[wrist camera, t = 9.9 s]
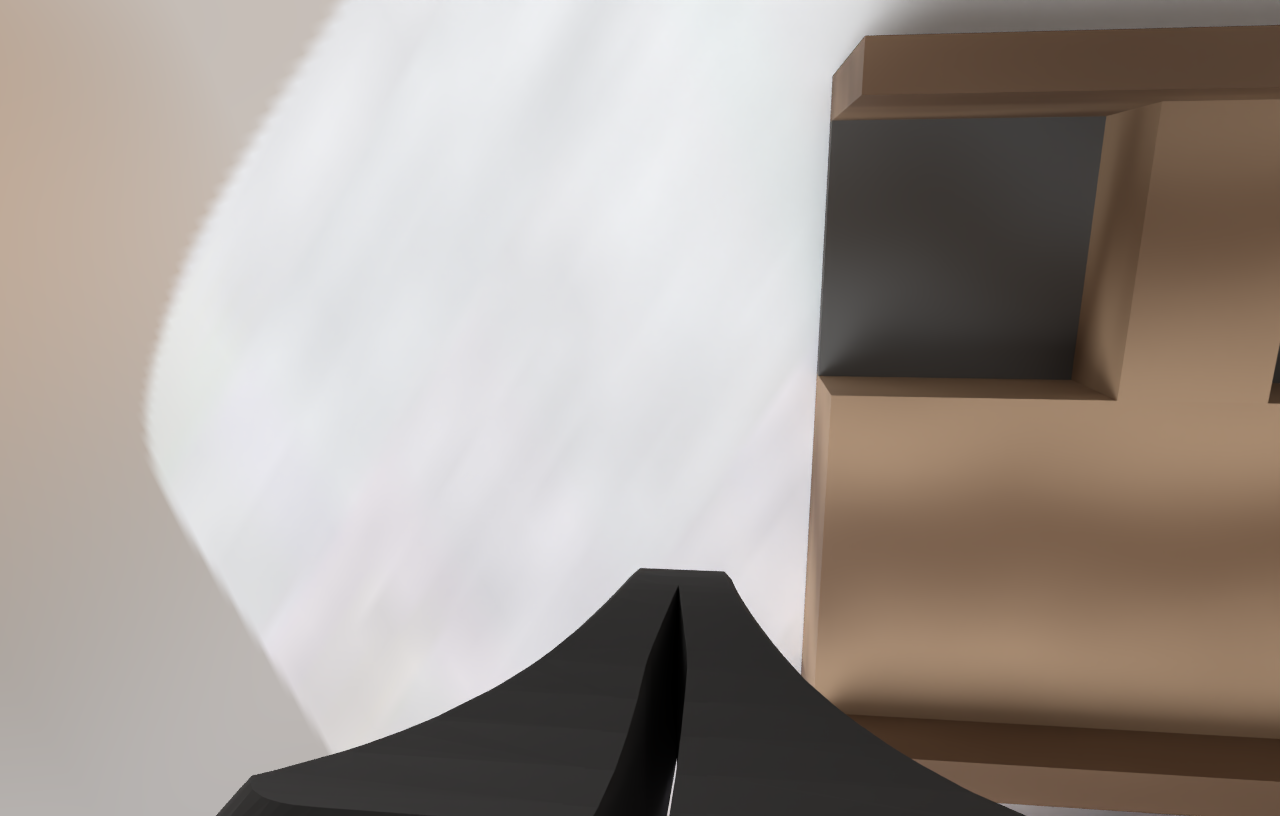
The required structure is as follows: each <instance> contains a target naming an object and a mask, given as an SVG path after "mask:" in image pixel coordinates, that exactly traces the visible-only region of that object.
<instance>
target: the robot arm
mask: <svg viewBox="0 0 1280 816" xmlns="http://www.w3.org/2000/svg"><path fill="white" fill-rule="evenodd" d="M676 759H677V770H676V778H675V784H674V790H673V797H672V803H671V809H670V815H669V816H1025V815H1023V814H1021V813H1018V812H1016V811H1014V810H1012V809H1009V808H1007V807H1005V806H1002V805H1000V804H998V803H996V802H993V801H991V800H989V799H987V798H984V797H982V796H980V795H978V794H975V793H973V792H971V791H969V790H967V789H965V788H963V787H961V786H959V785H958V784H956V783H954V782H952V781H950V780H948V779H947V778H945V777H943V776H941V775H939V774H937V773H936V772H934V771H932V770H930V769H928V768H926V767H925V766H923V765H921V764H919V763H917V762H916V761H914V760H912V759H911V758H909V757H908V756H906V755H904V754H903V753H901V752H899V751H898V750H896V749H894V748H893V747H891V746H890V745H888V744H887V743H885V742H884V741H882V740H881V739H880V738H878V737H877V736H875V735H874V734H872V733H871V732H870V731H868V730H867V729H865V728H864V727H862V726H861V725H859V724H858V723H857V722H855V721H854V720H852V719H851V718H850V717H849V716H847V715H846V714H845V713H843V712H842V711H841V710H840V709H838V708H837V707H836V706H835V705H833V704H832V703H831V702H830V701H829V700H828V699H827V698H825V697H824V696H823V695H822V694H821V693H820V692H819V691H817V690H816V689H815V688H814V687H813V686H812V685H811V684H809V683H808V682H807V681H806V680H805V679H804V678H803V677H802V676H801V675H800V674H799V673H798V672H797V670H796V669H795V668H794V667H793V666H792V665H791V664H790V663H789V662H788V661H787V659H786V658H785V657H784V656H783V655H782V654H781V652H780V651H779V650H778V649H777V648H776V646H775V645H774V644H773V643H772V641H771V640H770V639H769V638H768V636H767V635H766V634H765V632H764V631H763V630H762V628H761V627H760V626H759V624H758V623H757V622H756V620H755V619H754V617H753V616H752V614H751V613H750V612H749V610H748V608H747V607H746V605H745V604H744V602H743V601H742V599H741V597H740V596H739V594H738V592H737V590H736V588H735V586H734V584H733V582H732V580H731V578H730V577H729V576H728V575H727V574H726V573H725V572H722V571H697V570H672V569H647V568H640V569H639V570H638V571H636V572H635V573H634V574H633V575H632V576H631V577H630V578H629V579H628V580H627V581H626V582H625V583H624V584H623V585H622V586H621V587H620V589H619V590H618V591H617V592H616V593H615V594H614V595H613V596H612V597H611V598H610V599H609V600H608V601H607V602H606V603H605V604H604V605H603V606H602V607H601V608H600V609H599V610H598V611H597V612H596V613H595V614H593V615H592V616H591V617H590V618H589V619H588V620H587V621H586V622H585V623H584V624H583V625H582V626H581V627H580V628H579V629H577V630H576V631H575V632H574V633H573V634H571V635H570V636H569V637H568V638H566V639H565V640H564V641H563V642H562V643H560V644H559V645H558V646H557V647H555V648H554V649H553V650H552V651H550V652H549V653H548V654H546V655H545V656H544V657H542V658H541V659H539V660H538V661H536V662H535V663H534V664H532V665H531V666H529V667H528V668H526V669H524V670H523V671H521V672H520V673H518V674H516V675H515V676H513V677H512V678H510V679H508V680H507V681H505V682H504V683H502V684H500V685H498V686H497V687H495V688H493V689H491V690H489V691H487V692H485V693H483V694H481V695H479V696H477V697H475V698H473V699H471V700H469V701H467V702H465V703H463V704H461V705H459V706H457V707H455V708H453V709H451V710H449V711H447V712H445V713H443V714H441V715H439V716H437V717H435V718H433V719H430V720H428V721H425V722H423V723H421V724H418V725H416V726H413V727H411V728H408V729H406V730H403V731H401V732H398V733H395V734H393V735H390V736H387V737H384V738H382V739H379V740H376V741H373V742H370V743H368V744H365V745H362V746H359V747H356V748H352V749H349V750H346V751H343V752H340V753H336V754H332V755H329V756H325V757H321V758H318V759H314V760H311V761H307V762H304V763H300V764H296V765H292V766H289V767H285V768H282V769H278V770H274V771H270V772H266V773H262V774H257V775H253V776H251V777H250V778H249V780H248V781H247V782H246V783H245V784H244V785H243V786H242V787H241V788H240V789H239V790H238V791H237V793H236V794H235V795H234V796H233V797H232V798H231V799H230V801H229V802H228V803H227V804H226V805H225V806H224V807H223V809H222V810H221V811H220V812H219V813H218V814H217V815H216V816H667V812H668V806H669V800H670V794H671V789H672V783H673V777H674V771H675V765H676Z"/></svg>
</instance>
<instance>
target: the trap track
mask: <svg viewBox="0 0 1280 816" xmlns="http://www.w3.org/2000/svg"><path fill="white" fill-rule="evenodd" d="M801 676H802V677H803V678H804V679H805V680H806V681H807V682H808V683H809V684H811V685H812V686H813V687H814V688H815V689H816V690H817V691H819V692H820V693H821V694H822V695H823V696H824V697H825V698H827V699H828V700H829V701H830V702H831V703H832V704H833V705H835V706H836V707H837V708H838V709H840V710H841V711H842V712H843V713H845V714H846V715H847V716H849V717H850V718H851V719H852V720H854V721H855V722H857V723H858V724H859V725H861V726H862V727H864V728H865V729H867V730H868V731H870V732H871V733H872V734H874V735H875V736H877V737H878V738H880V739H881V740H882V741H884V742H885V743H887V744H888V745H890V746H891V747H893V748H894V749H896V750H898V751H899V752H901V753H903V754H904V755H906V756H908V757H909V758H911V759H912V760H914V761H916V762H917V763H919V764H921V765H923V766H925V767H926V768H928V769H930V770H932V771H934V772H936V773H937V774H939V775H941V776H943V777H945V778H947V779H948V780H950V781H952V782H954V783H956V784H958V785H959V786H961V787H963V788H965V789H967V790H969V791H971V792H973V793H975V794H978V795H980V796H982V797H984V798H987V799H989V800H991V801H993V802H996V803H1007V804H1022V805H1037V806H1052V807H1067V808H1082V809H1097V810H1112V811H1127V812H1143V813H1158V814H1173V815H1188V816H1280V25H1266V26H1227V27H1188V28H1149V29H1110V30H1071V31H1032V32H993V33H954V34H915V35H876V36H865V37H864V38H863V39H862V40H861V42H860V43H859V44H858V45H857V47H856V48H855V49H854V50H853V52H852V53H851V54H850V55H849V57H848V58H847V59H846V60H845V62H844V63H843V64H842V65H841V67H840V68H839V69H838V70H837V72H836V73H835V74H834V75H833V81H832V100H831V119H830V137H829V156H828V175H827V194H826V213H825V232H824V251H823V270H822V289H821V308H820V326H819V345H818V364H817V383H816V402H815V421H814V440H813V459H812V478H811V497H810V515H809V534H808V553H807V572H806V591H805V610H804V629H803V648H802V667H801Z"/></svg>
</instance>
